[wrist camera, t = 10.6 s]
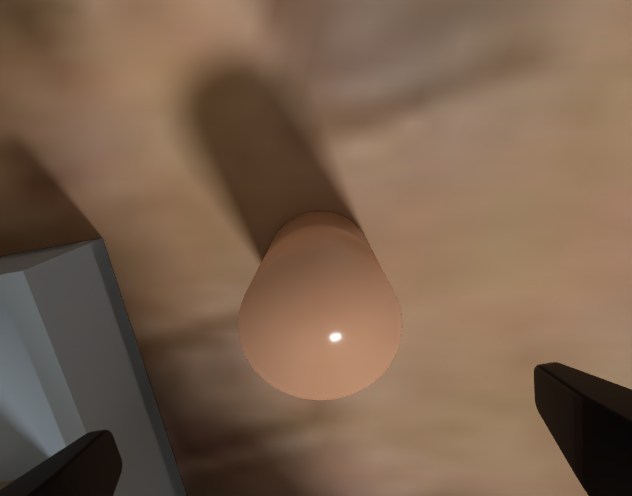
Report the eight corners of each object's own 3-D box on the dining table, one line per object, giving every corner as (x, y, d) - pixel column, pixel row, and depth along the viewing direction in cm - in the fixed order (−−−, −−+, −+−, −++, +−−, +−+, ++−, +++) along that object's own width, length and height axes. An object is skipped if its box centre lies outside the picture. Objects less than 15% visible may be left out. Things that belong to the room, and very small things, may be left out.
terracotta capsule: (378, 301, 19) (411, 387, 12) (279, 317, 19) (257, 410, 12) (363, 202, 18) (391, 236, 11) (258, 221, 18) (220, 265, 11)
